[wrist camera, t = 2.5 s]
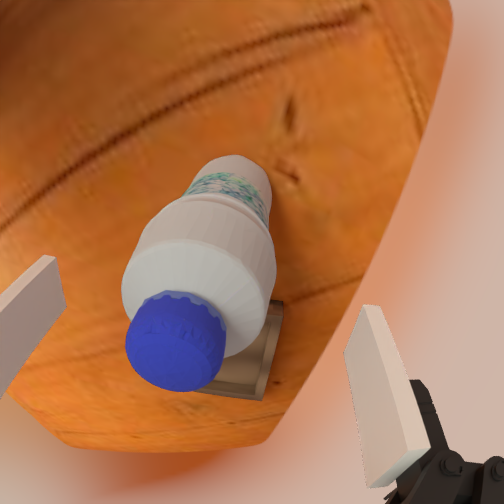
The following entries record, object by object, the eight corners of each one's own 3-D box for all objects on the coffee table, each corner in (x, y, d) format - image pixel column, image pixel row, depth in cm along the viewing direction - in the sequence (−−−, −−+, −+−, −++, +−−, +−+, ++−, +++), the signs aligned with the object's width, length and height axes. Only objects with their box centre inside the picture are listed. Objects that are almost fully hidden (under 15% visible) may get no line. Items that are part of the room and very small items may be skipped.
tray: (147, 281, 32) (140, 294, 30) (282, 301, 32) (283, 316, 30) (155, 369, 38) (150, 382, 36) (262, 386, 39) (261, 400, 36)
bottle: (192, 216, 28) (91, 403, 11) (201, 142, 25) (55, 262, 7) (266, 229, 28) (255, 440, 11) (281, 156, 25) (304, 312, 8)
